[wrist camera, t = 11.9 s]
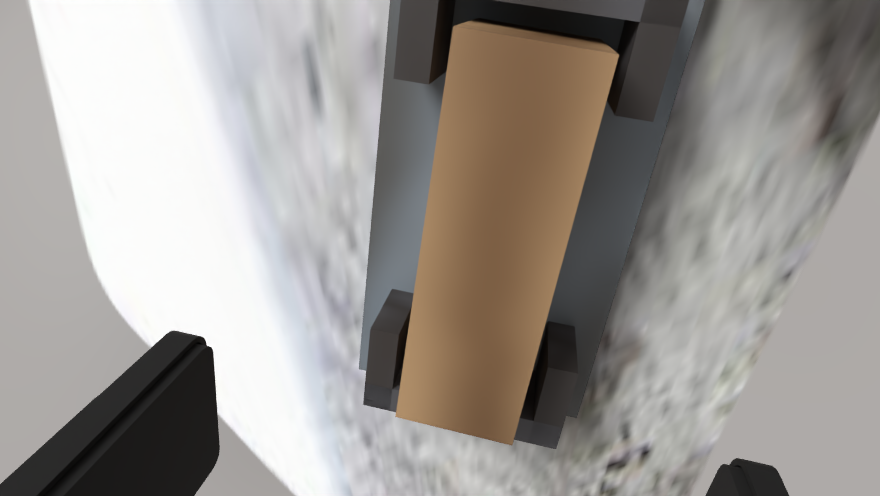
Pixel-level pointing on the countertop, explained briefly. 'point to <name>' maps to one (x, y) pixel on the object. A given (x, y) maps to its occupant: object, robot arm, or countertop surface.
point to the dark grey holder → (601, 202)
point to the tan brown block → (498, 219)
